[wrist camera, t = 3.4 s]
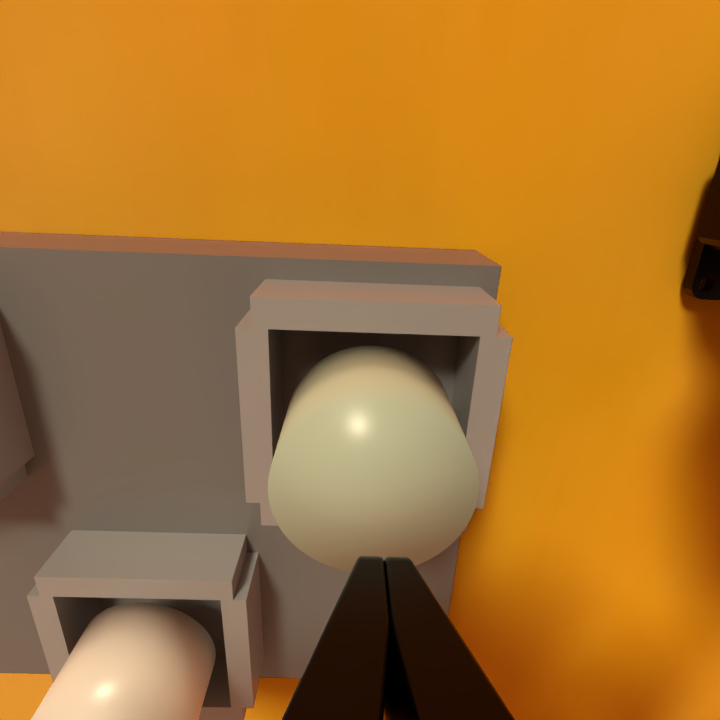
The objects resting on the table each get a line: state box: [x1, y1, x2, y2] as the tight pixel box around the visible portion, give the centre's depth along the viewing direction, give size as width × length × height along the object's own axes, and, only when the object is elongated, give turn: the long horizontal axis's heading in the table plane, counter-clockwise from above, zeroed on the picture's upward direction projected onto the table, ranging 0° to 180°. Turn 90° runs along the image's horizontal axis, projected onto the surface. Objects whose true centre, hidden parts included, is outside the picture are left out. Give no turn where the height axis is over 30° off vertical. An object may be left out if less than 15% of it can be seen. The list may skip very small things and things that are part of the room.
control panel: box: [0, 232, 513, 720], centre depth 16 cm, size 21×17×5 cm
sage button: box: [268, 346, 479, 572], centre depth 11 cm, size 4×4×3 cm
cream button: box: [31, 602, 216, 720], centre depth 14 cm, size 4×4×3 cm
